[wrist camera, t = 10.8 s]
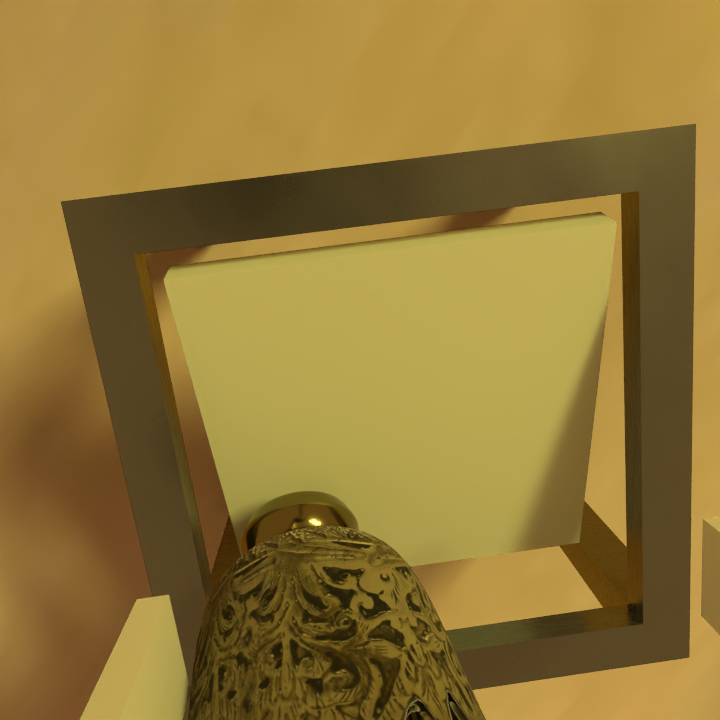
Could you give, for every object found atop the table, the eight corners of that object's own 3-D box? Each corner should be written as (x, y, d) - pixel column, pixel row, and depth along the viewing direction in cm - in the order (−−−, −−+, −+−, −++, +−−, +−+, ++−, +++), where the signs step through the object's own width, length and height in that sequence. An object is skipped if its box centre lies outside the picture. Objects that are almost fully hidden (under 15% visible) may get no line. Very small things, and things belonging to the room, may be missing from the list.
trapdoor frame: (183, 205, 29) (60, 202, 15) (522, 163, 29) (696, 124, 16) (241, 516, 33) (184, 732, 19) (539, 474, 33) (689, 657, 20)
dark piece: (266, 602, 23) (297, 871, 17) (124, 520, 18) (97, 857, 12) (442, 514, 22) (540, 773, 16) (338, 400, 17) (424, 713, 11)
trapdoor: (169, 266, 17) (163, 280, 16) (600, 211, 17) (616, 222, 16) (252, 567, 23) (250, 589, 22) (568, 522, 23) (579, 542, 22)
